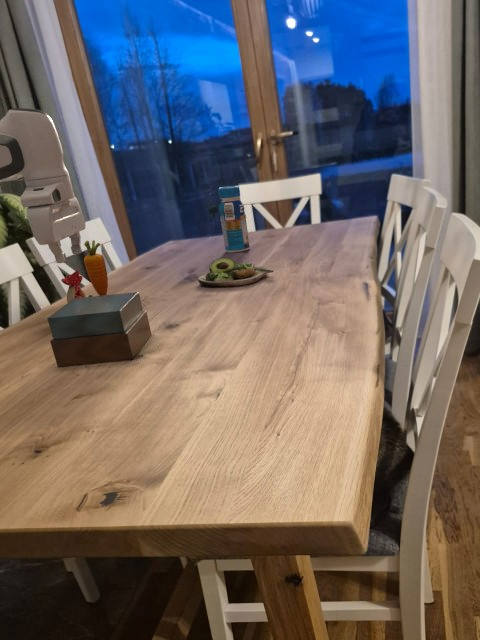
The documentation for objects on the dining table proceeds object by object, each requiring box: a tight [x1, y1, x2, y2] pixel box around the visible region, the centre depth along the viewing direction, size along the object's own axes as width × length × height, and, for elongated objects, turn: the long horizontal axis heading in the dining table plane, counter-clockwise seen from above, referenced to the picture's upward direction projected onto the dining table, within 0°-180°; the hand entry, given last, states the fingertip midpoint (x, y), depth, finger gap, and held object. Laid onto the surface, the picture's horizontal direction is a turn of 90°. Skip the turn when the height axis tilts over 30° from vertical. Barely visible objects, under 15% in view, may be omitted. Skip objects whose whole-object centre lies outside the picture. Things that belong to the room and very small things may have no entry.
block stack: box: [47, 291, 152, 368], centre depth 109 cm, size 14×14×9 cm
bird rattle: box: [60, 269, 94, 303], centre depth 132 cm, size 6×11×9 cm
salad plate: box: [197, 257, 274, 288], centre depth 153 cm, size 19×18×5 cm
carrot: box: [83, 239, 109, 296], centre depth 146 cm, size 5×5×15 cm
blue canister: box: [217, 185, 251, 254], centre depth 188 cm, size 8×8×20 cm
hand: (70, 258), depth 128 cm, fingers open, 8 cm apart
